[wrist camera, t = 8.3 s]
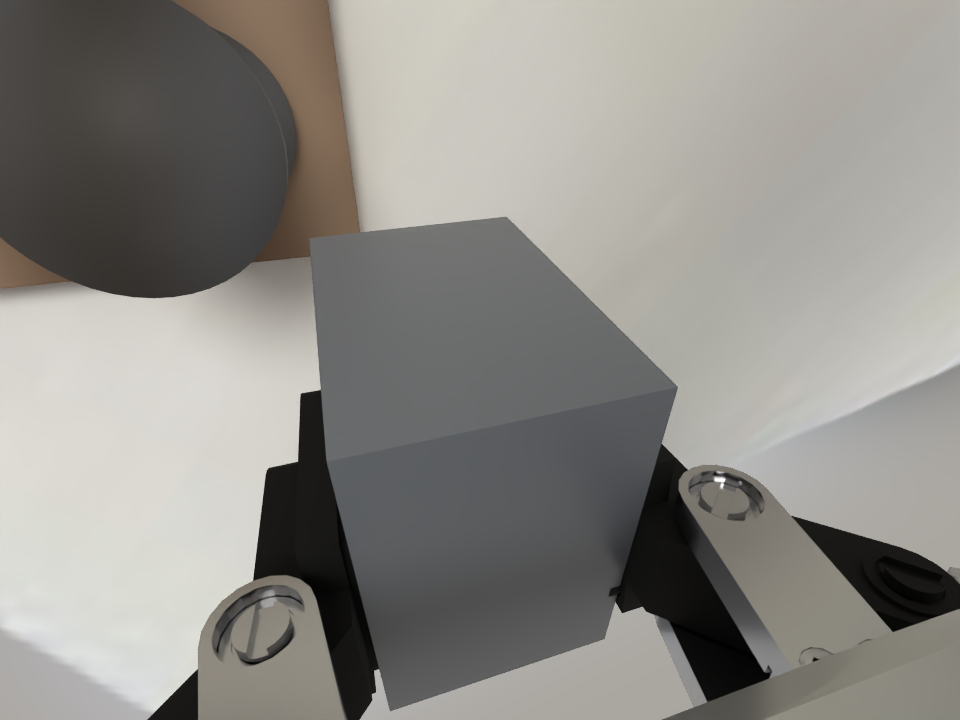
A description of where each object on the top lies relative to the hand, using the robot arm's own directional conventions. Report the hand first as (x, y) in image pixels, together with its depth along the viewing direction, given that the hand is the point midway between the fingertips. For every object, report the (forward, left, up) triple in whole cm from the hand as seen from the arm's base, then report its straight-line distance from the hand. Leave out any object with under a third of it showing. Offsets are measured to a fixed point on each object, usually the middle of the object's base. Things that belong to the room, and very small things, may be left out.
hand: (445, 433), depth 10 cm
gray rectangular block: (0, -1, -2) cm, 2 cm away
